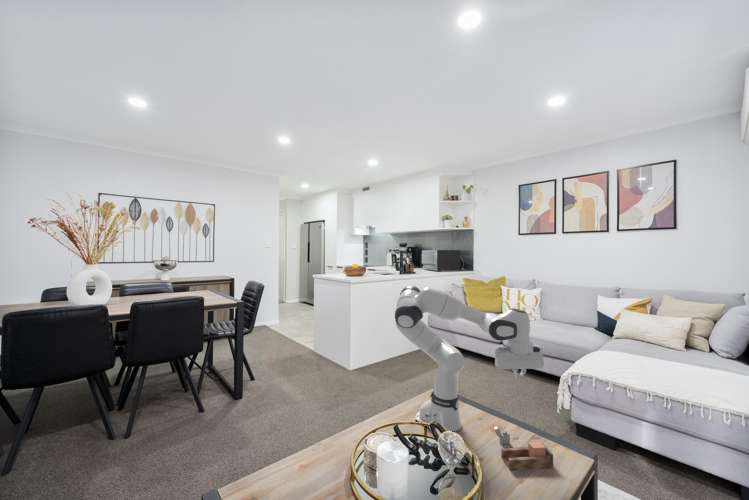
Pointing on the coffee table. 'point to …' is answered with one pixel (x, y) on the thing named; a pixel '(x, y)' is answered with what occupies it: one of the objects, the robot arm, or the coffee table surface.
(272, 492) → the coffee table surface
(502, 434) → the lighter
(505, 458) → the brown wooden open box
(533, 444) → the block
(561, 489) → the coffee table surface
